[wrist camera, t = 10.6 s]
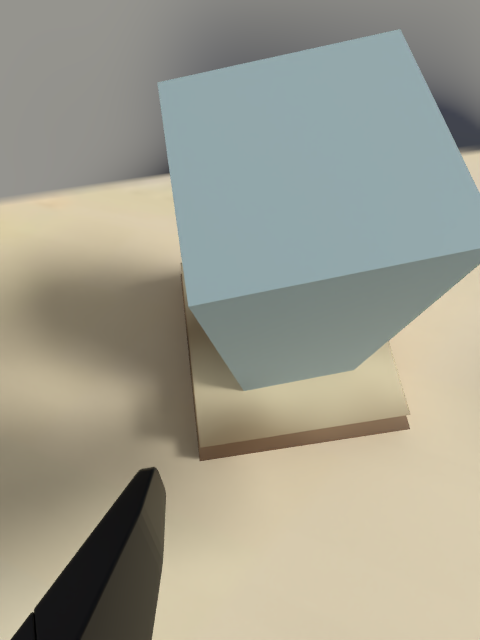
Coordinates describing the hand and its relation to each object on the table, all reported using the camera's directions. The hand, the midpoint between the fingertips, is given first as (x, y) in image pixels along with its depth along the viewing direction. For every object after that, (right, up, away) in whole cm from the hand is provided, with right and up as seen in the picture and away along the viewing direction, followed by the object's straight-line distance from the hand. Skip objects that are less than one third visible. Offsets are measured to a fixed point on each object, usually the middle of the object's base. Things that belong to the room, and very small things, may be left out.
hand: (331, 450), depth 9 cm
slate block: (0, +3, +9) cm, 10 cm away
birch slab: (0, +2, +11) cm, 11 cm away
